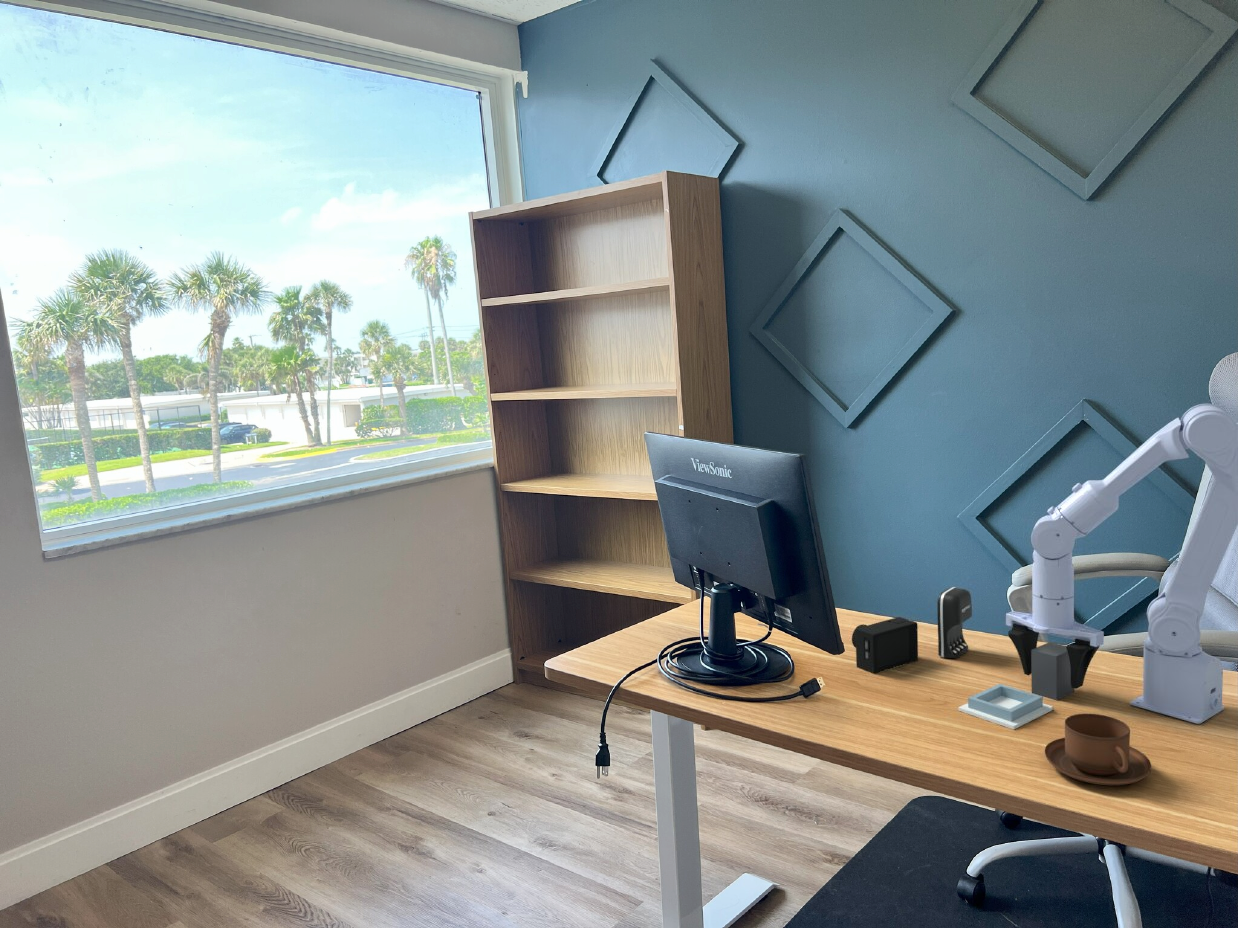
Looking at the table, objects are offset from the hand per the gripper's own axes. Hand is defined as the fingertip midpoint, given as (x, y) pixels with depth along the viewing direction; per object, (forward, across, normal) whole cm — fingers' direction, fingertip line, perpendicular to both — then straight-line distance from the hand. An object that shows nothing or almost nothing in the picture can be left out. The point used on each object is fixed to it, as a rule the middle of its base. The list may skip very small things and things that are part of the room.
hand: (1052, 679), depth 140 cm
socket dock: (+2, -1, -11) cm, 11 cm away
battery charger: (+2, -20, +4) cm, 21 cm away
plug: (+2, 0, 0) cm, 2 cm away
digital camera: (+2, -26, -8) cm, 27 cm away
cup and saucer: (+2, +17, -19) cm, 26 cm away
